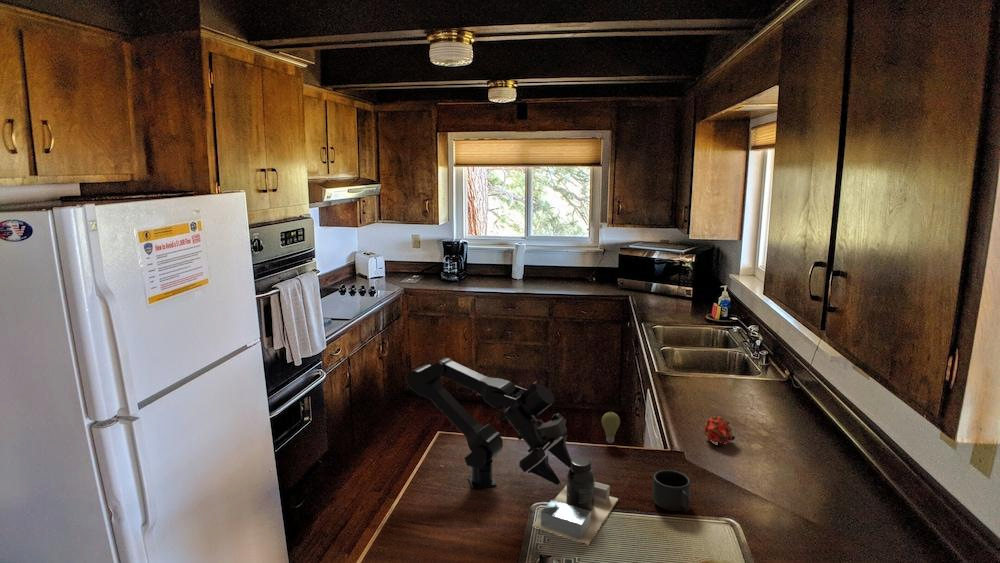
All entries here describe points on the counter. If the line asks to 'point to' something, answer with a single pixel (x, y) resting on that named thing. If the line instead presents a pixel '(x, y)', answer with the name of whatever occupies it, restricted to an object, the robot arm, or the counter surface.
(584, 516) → the sliding jaw
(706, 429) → the dragon fruit
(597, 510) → the vise
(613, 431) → the light bulb
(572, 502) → the supplement bottle
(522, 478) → the counter surface
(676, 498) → the mug
